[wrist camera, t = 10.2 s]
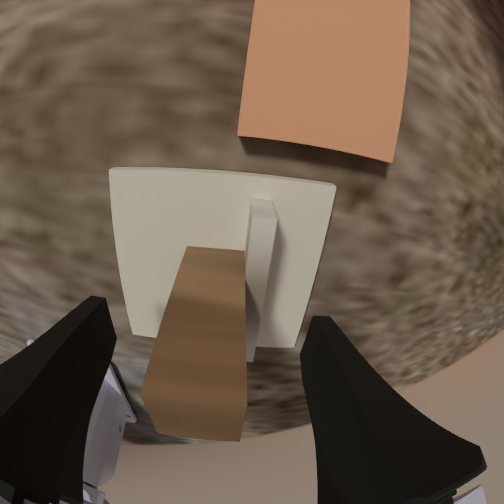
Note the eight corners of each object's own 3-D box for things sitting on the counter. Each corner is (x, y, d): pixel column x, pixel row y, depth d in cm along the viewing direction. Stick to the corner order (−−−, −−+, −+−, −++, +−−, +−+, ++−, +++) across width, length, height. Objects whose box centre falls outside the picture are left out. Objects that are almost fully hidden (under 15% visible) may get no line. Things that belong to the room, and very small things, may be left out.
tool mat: (292, 341, 15) (293, 347, 15) (135, 328, 14) (132, 334, 14) (333, 183, 11) (336, 186, 10) (114, 167, 10) (109, 169, 10)
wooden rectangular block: (251, 332, 14) (257, 461, 8) (189, 326, 14) (168, 455, 7) (271, 199, 10) (309, 339, 4) (187, 192, 10) (116, 322, 4)
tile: (237, 132, 10) (377, 156, 11) (237, 135, 9) (391, 163, 9) (261, -35, 6) (395, 1, 7) (263, -49, 5) (409, -6, 6)
